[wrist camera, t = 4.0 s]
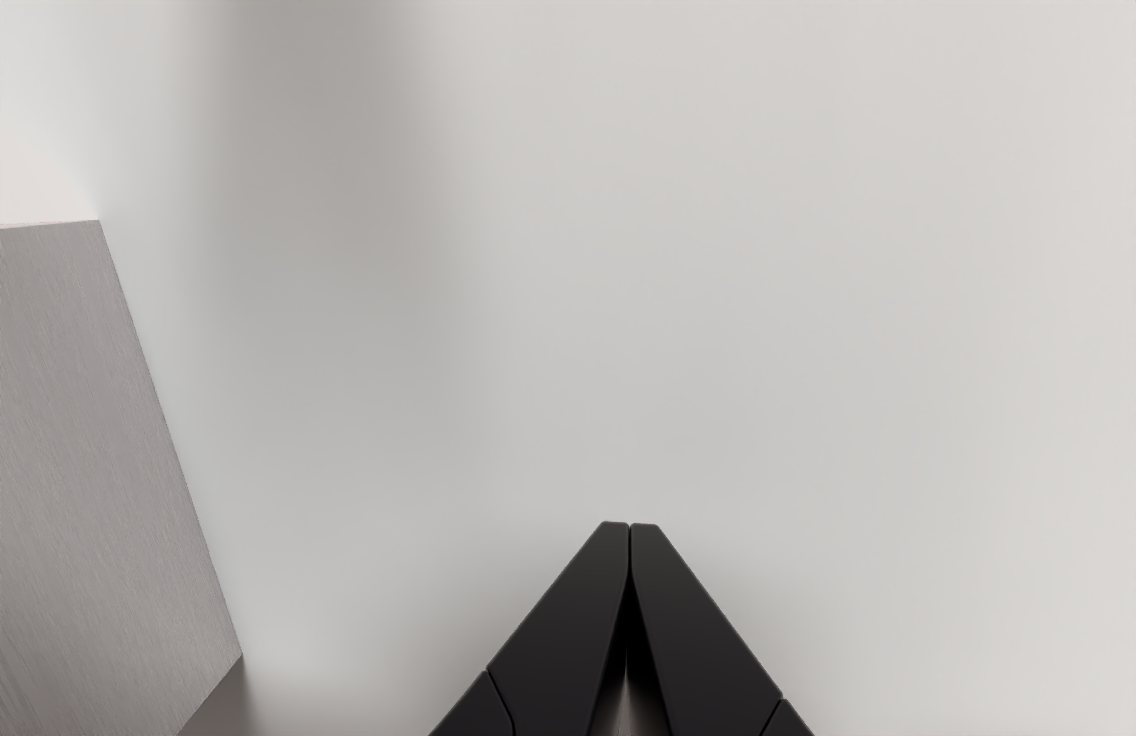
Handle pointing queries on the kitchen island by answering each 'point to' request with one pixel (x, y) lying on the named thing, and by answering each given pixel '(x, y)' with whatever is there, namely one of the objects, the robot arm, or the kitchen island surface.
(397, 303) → the kitchen island surface
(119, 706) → the block
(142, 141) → the kitchen island surface
